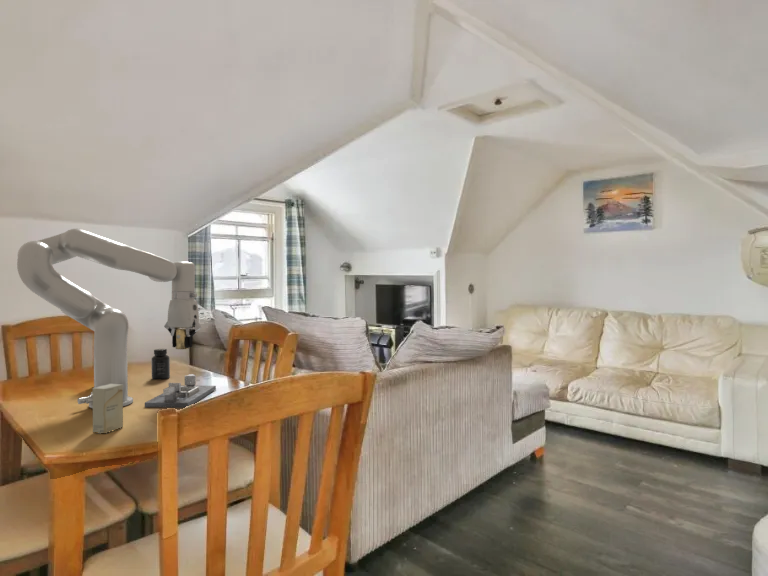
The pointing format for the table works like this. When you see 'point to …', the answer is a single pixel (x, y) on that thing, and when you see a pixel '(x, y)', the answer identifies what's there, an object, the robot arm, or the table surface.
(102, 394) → the skincare box
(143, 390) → the table surface
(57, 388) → the table surface
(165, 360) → the supplement bottle
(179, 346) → the universal joint block
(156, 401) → the shaft bench
